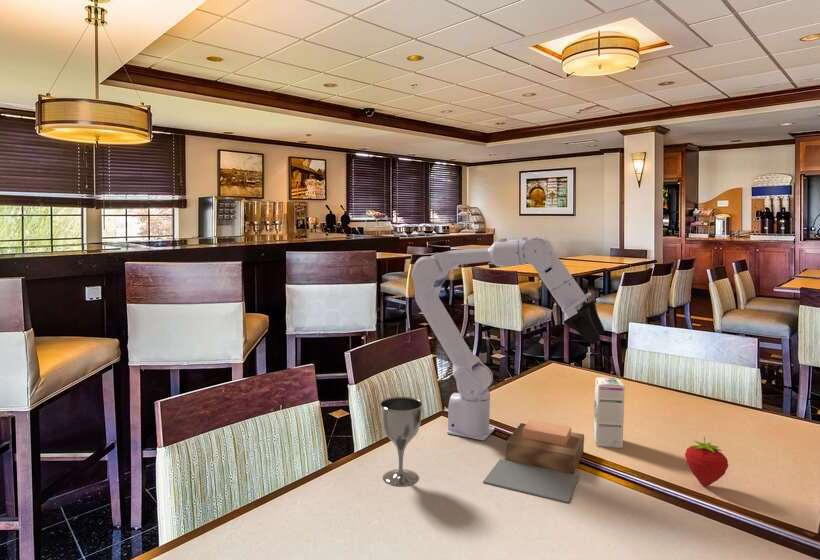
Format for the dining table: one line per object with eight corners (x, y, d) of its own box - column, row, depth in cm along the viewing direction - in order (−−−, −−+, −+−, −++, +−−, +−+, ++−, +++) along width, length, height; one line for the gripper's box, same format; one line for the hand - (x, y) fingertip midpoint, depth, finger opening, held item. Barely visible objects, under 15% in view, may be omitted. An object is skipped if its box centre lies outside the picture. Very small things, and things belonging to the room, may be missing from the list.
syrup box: (623, 448, 118) (626, 385, 116) (595, 446, 119) (598, 383, 117) (618, 438, 123) (621, 378, 122) (591, 436, 125) (594, 376, 123)
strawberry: (716, 499, 96) (720, 446, 95) (676, 482, 103) (679, 432, 102) (732, 490, 100) (736, 439, 99) (693, 474, 106) (696, 426, 105)
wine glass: (391, 491, 98) (391, 413, 97) (373, 473, 105) (374, 400, 104) (428, 481, 102) (429, 406, 100) (409, 465, 109) (410, 394, 107)
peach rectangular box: (522, 437, 113) (523, 428, 113) (529, 427, 119) (529, 419, 119) (565, 445, 109) (566, 436, 109) (570, 435, 115) (571, 426, 115)
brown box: (505, 460, 111) (505, 442, 111) (520, 439, 122) (521, 423, 122) (573, 475, 105) (574, 455, 105) (583, 452, 116) (584, 434, 115)
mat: (483, 482, 102) (483, 481, 102) (500, 460, 111) (500, 458, 111) (568, 503, 95) (568, 501, 95) (578, 477, 104) (578, 475, 104)
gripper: (571, 279, 106) (611, 336, 104) (582, 271, 119) (618, 322, 117) (542, 297, 110) (581, 353, 108) (556, 288, 122) (590, 337, 120)
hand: (598, 338), depth 113 cm, fingers open, 7 cm apart
